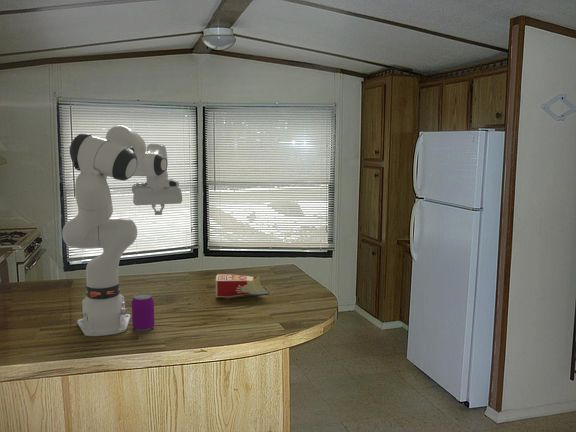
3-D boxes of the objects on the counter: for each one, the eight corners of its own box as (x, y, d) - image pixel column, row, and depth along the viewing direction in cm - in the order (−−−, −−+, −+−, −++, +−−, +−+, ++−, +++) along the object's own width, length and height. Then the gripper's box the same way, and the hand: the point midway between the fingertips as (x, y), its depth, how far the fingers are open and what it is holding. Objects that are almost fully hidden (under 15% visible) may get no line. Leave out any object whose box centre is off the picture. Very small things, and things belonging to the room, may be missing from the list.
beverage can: (146, 322, 195) (145, 291, 193) (158, 327, 190) (158, 295, 188) (128, 328, 189) (127, 296, 187) (141, 333, 185) (139, 300, 183)
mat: (269, 294, 231) (269, 293, 231) (224, 298, 224) (224, 297, 224) (258, 284, 246) (258, 283, 246) (216, 288, 239) (216, 287, 239)
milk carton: (218, 291, 232) (263, 292, 233) (215, 298, 223) (262, 298, 223) (217, 271, 231) (263, 272, 231) (215, 277, 222) (262, 278, 222)
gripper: (132, 183, 214) (133, 217, 217) (182, 182, 222) (183, 214, 224) (131, 182, 220) (132, 214, 222) (180, 181, 228) (180, 212, 230)
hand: (158, 214), depth 223 cm, fingers closed
